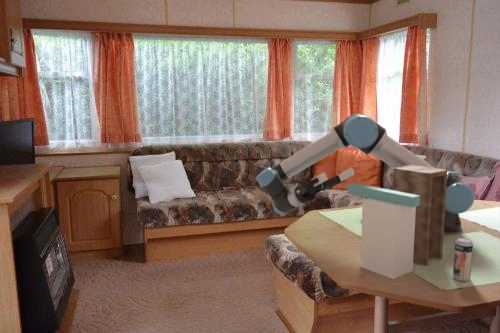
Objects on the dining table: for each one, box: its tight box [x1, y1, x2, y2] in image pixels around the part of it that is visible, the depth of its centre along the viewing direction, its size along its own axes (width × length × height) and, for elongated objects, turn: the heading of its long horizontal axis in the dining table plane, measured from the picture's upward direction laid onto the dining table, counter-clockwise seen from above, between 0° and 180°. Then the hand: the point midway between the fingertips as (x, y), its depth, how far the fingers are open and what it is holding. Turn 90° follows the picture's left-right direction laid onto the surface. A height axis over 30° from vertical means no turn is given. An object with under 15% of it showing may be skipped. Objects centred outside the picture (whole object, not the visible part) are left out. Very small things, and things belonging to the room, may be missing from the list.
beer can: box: [452, 237, 474, 282], centre depth 128 cm, size 5×5×12 cm
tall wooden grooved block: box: [392, 165, 448, 267], centre depth 144 cm, size 13×10×30 cm
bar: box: [347, 182, 420, 208], centre depth 136 cm, size 24×4×3 cm, turn 37°
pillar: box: [360, 198, 416, 280], centre depth 136 cm, size 12×10×22 cm
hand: (339, 173), depth 149 cm, fingers open, 13 cm apart
